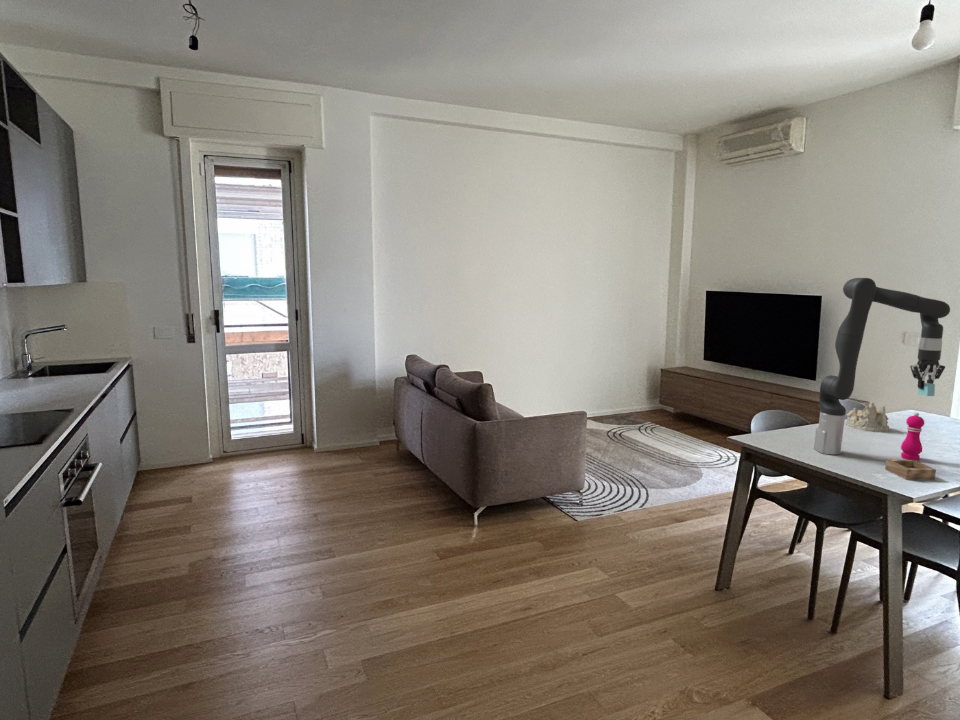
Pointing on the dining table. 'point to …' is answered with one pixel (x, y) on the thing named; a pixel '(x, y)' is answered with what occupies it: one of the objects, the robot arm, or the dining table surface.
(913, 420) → the pepper mill
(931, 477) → the wooden tray
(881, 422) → the cream rough lump
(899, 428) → the dining table surface
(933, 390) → the teal block
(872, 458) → the dining table surface
